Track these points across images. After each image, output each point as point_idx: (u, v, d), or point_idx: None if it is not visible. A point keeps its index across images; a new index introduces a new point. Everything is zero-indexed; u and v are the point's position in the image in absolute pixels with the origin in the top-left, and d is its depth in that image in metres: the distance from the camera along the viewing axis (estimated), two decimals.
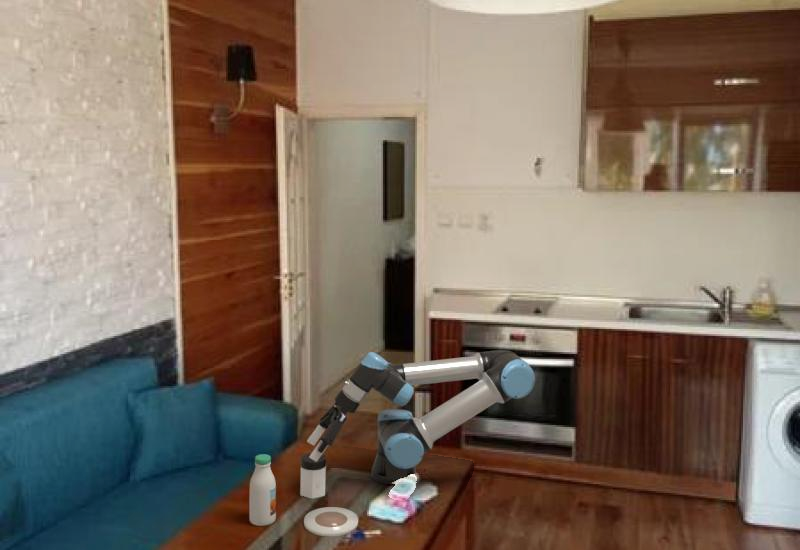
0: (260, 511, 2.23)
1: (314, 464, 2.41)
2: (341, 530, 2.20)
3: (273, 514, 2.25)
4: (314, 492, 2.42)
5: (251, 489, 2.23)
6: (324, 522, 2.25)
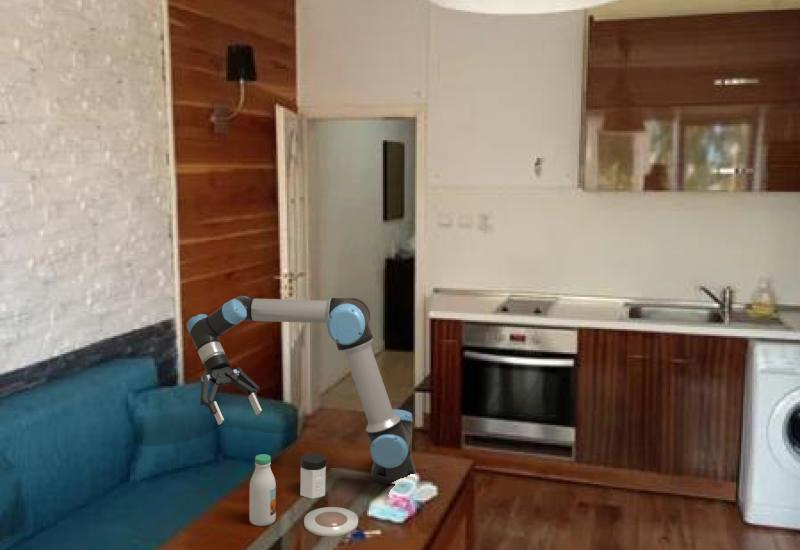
0: (260, 511, 2.23)
1: (314, 464, 2.41)
2: (341, 530, 2.20)
3: (273, 514, 2.25)
4: (314, 492, 2.42)
5: (251, 489, 2.23)
6: (324, 522, 2.25)
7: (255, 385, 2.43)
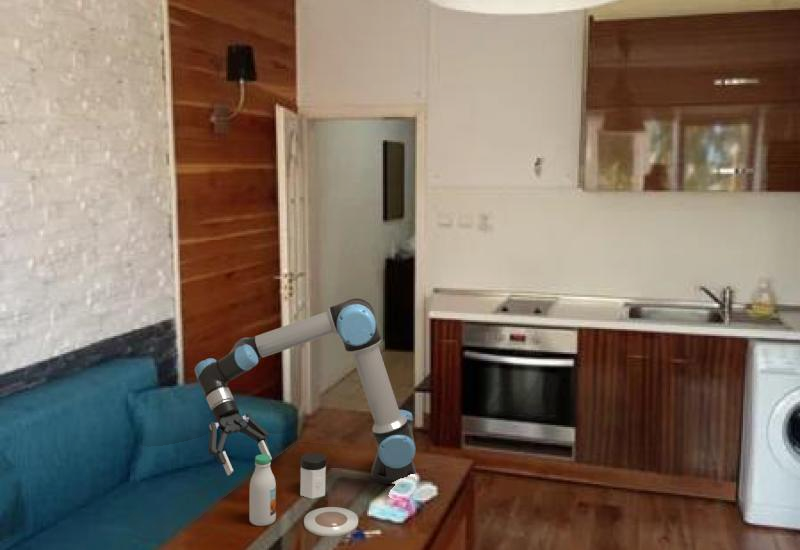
0: (260, 511, 2.23)
1: (314, 464, 2.41)
2: (341, 530, 2.20)
3: (273, 514, 2.25)
4: (314, 492, 2.42)
5: (251, 489, 2.23)
6: (324, 522, 2.25)
7: (265, 432, 2.37)
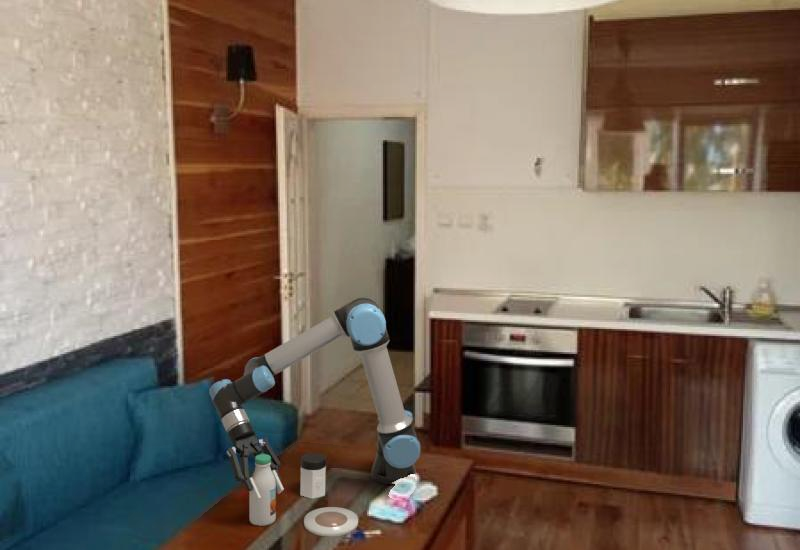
0: (260, 511, 2.23)
1: (314, 464, 2.41)
2: (341, 530, 2.20)
3: (273, 514, 2.25)
4: (314, 492, 2.42)
5: None
6: (324, 522, 2.25)
7: (277, 460, 2.31)
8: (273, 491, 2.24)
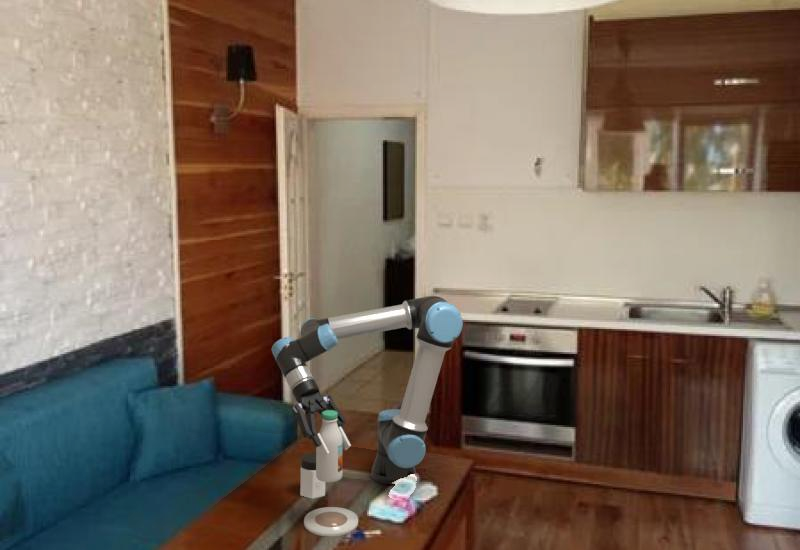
0: (328, 467, 2.20)
1: (314, 464, 2.41)
2: (341, 530, 2.20)
3: (340, 470, 2.23)
4: (314, 492, 2.42)
5: None
6: (324, 522, 2.25)
7: (342, 417, 2.28)
8: (340, 447, 2.22)
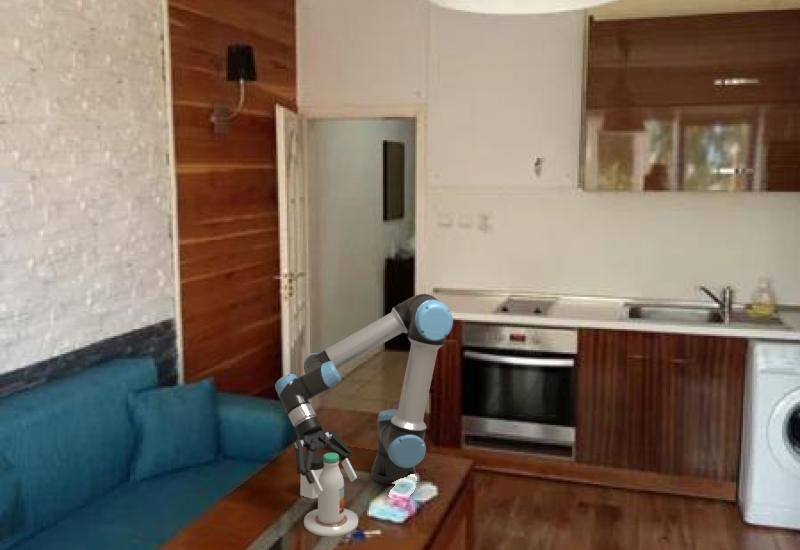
0: (329, 510, 2.22)
1: (314, 464, 2.41)
2: (341, 530, 2.20)
3: (342, 512, 2.25)
4: (314, 492, 2.42)
5: None
6: None
7: (348, 449, 2.32)
8: (342, 489, 2.23)
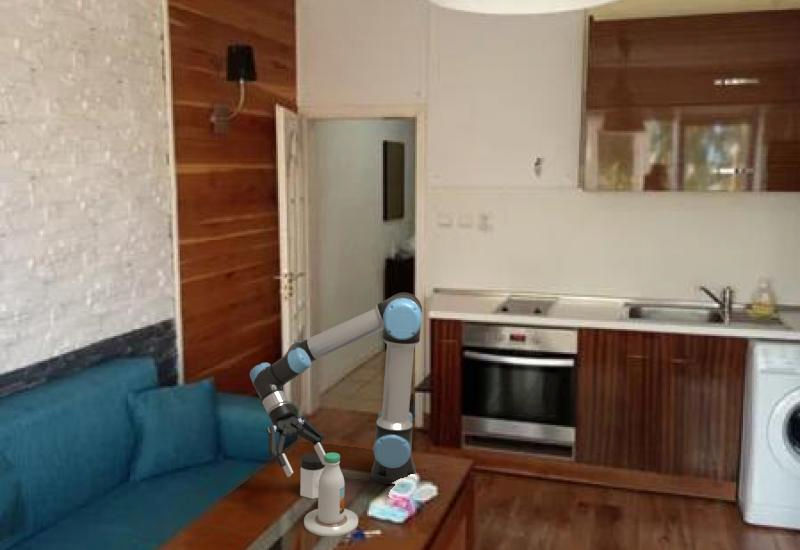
0: (330, 509, 2.22)
1: (314, 464, 2.41)
2: (341, 530, 2.20)
3: (342, 512, 2.25)
4: (314, 492, 2.42)
5: (321, 487, 2.23)
6: None
7: (320, 434, 2.41)
8: (342, 490, 2.24)
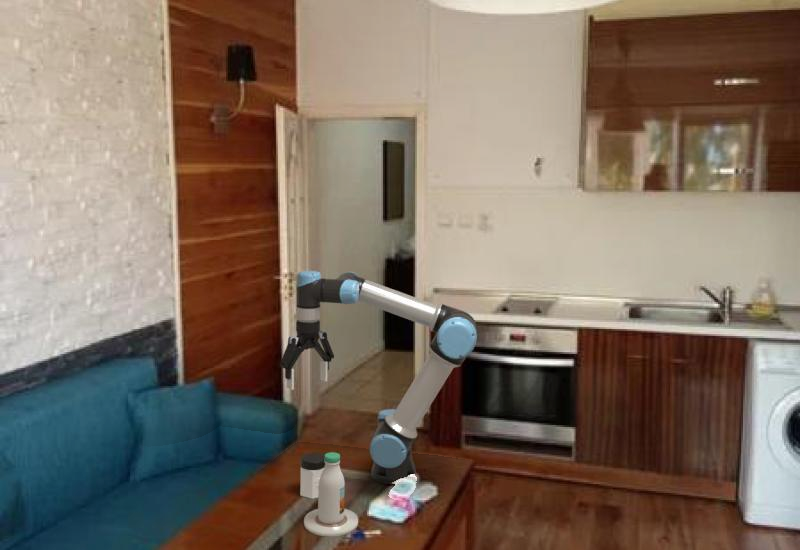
0: (330, 509, 2.22)
1: (314, 464, 2.41)
2: (341, 530, 2.20)
3: (342, 512, 2.25)
4: (314, 492, 2.42)
5: (321, 487, 2.23)
6: None
7: (331, 353, 2.50)
8: (342, 489, 2.24)
